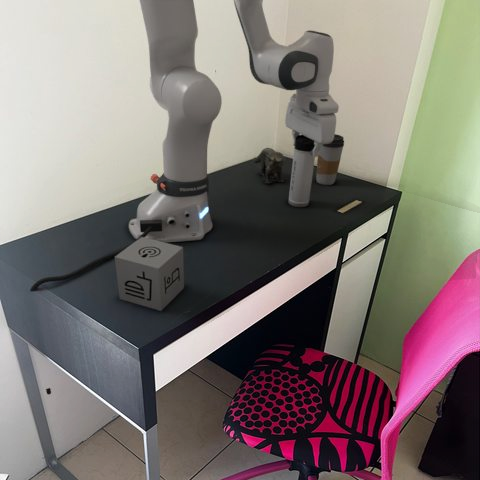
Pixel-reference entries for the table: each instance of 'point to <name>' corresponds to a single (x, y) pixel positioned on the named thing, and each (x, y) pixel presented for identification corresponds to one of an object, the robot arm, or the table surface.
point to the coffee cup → (329, 161)
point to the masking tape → (349, 206)
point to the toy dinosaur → (270, 164)
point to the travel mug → (301, 172)
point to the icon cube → (150, 273)
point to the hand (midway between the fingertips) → (305, 151)
